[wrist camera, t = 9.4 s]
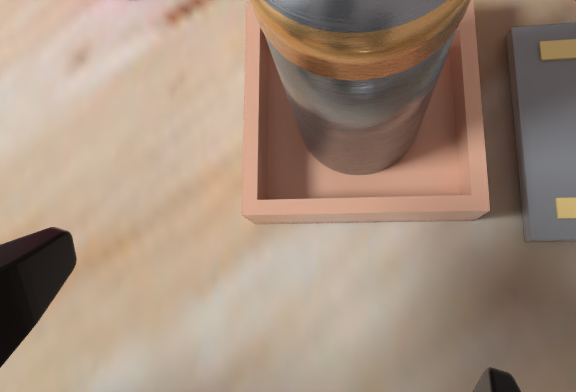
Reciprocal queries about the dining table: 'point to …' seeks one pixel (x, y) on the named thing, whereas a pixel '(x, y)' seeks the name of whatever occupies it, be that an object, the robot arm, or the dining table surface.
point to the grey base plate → (545, 127)
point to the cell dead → (359, 72)
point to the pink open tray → (373, 187)
